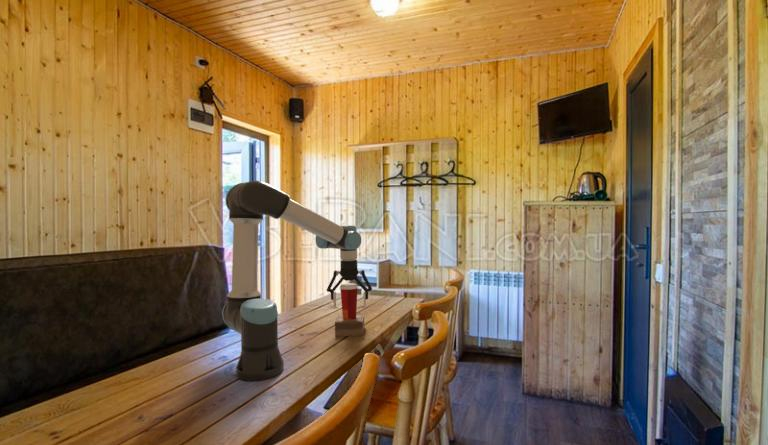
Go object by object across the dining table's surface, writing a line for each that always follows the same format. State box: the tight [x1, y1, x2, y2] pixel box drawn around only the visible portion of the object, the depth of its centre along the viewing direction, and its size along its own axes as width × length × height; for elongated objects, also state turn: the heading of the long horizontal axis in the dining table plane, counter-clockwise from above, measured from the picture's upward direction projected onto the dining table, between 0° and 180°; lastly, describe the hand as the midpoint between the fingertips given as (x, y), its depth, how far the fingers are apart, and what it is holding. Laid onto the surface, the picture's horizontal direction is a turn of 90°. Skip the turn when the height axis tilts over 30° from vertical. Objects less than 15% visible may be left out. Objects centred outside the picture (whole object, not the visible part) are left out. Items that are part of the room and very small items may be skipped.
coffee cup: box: [339, 282, 359, 320], centre depth 164 cm, size 8×8×15 cm
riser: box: [334, 314, 365, 337], centre depth 164 cm, size 12×12×6 cm
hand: (349, 306), depth 164 cm, fingers open, 13 cm apart
